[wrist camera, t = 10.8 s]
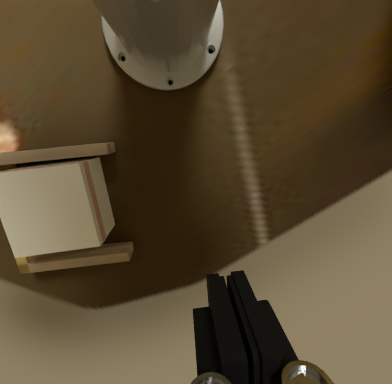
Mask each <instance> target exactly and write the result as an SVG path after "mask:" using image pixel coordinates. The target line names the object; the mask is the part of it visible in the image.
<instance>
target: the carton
mask: <svg viewBox="0 0 392 384" xmlns="http://www.w3.org/2000/svg"><path fill="white" fill-rule="evenodd" d="M0 219H1V222H2V224H3V227H4V230H5V232H6V235H7V238H8V240H9V243H10V246H11V248H12V251H13V254H14V256H15V258H20V257H27V256H34V255H41V254H48V253H56V252H63V251H70V250H77V249H84V248H92V247H99V246H101V244H102V243H104V241H105V240H106V237H107V236H108V234H109V233H110V231H111V230H112V228H113V227H114V226H115V222H114V218H113V214H112V209H111V205H110V201H109V196H108V192H107V188H106V183H105V179H104V175H103V170H102V166H101V162H100V157H94V158H86V159H78V160H70V161H62V162H54V163H46V164H38V165H30V166H23V167H19V168H15V169H10V170H6V171H0Z"/></svg>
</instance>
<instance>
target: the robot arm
mask: <svg viewBox="0 0 392 384" xmlns="http://www.w3.org/2000/svg"><path fill="white" fill-rule="evenodd" d="M92 1H93V3H94V4H95V6H96V7H97V8H98V10H99V11H100V13H101V21H102V30H103V34H104V37H105V41H106V44H107V46H108V48H109V50H110V53H111V55H112V56H113V58H114V59H115V61H116V62H117V64H118V65H119V66H120V67H121V68H122V70H123V71H124V72H125V73H126V74H128V75H129V76H130V77H131V78H132V79H133V80H135V81H137V82H138V83H140V84H142V85H144V86H146V87H149V88H151V89H156V90H162V91H171V90H178V89H182V88H185V87H187V86H189V85H191V84H193V83H195V82H196V81H197V80H199V79H200V78H201V77H202V76H203V75H204V74H205V73H206V72H207V71H208V70H209V69H210V67H211V65H212V64H213V62H214V60H215V59H216V57H217V54H218V52H219V49H220V46H221V42H222V39H223V30H224V17H223V9H222V4H221V0H92ZM209 50H212V52H213V53H212V54H209V52H208V51H209ZM123 57H125V58H126V60H125V61H122V58H123ZM169 81H172V82H173V84H172V85H169V84H168V82H169ZM206 278H207V290H208V303H209V307H203V308H195V309H193V319H194V333H195V347H196V361H197V375H198V376H197V378H195V379H194V380H193V381H192V383H191V384H334V383H333V382H332V380H331V379H330V378H329V377H328V376H327V375H326V373H325V372H324V371H323V370H322V369H320V368H319V367H317V366H316V365H314V364H312V363H310V362H307V361H301V360H298V358H297V356H296V354H295V352H294V350H293V348H292V346H291V344H290V342H289V340H288V339H287V337H286V335H285V333H284V331H283V329H282V327H281V325H280V323H279V321H278V319H277V317H276V315H275V313H274V311H273V309H272V307H271V305H270V303H269V302H268V301H267V300H261V301H257V299H256V297H255V295H254V293H253V291H252V288H251V286H250V284H249V282H248V279H247V277H246V275H245V273H244V271H243V270H242V271H234V272H231V275H229V276H227V286H226V283H225V279H224V276H220V277H219V274H218V273H216V274H208V275H206Z"/></svg>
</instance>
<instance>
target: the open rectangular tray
mask: <svg viewBox="0 0 392 384" xmlns="http://www.w3.org/2000/svg"><path fill="white" fill-rule="evenodd" d="M114 152H116V148H115V143H114V142H106V143H96V144H85V145H75V146H65V147H55V148H45V149H35V150H25V151H15V152H4V153H0V171H6V170H10V169H15V168H17V167H16V164H17V163H27V162H37V161H46V160H56V159H66V158H76V157H86V156H96V155H106V154H111V153H114ZM133 251H134V246H133V241H128V242H120V243H111V244H102V245H101V246H99V247H92V248H84V249H77V250H70V251H63V252H56V253H48V254H41V255H34V256H27V257H20V258H15V259H16V262H17V265H18V268H19V271H20V274H25V273H33V272H41V271H50V270H58V269H67V268H75V267H83V266H92V265H100V264H108V263H117V262H125V261H130V258H131V256H132V253H133Z"/></svg>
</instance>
